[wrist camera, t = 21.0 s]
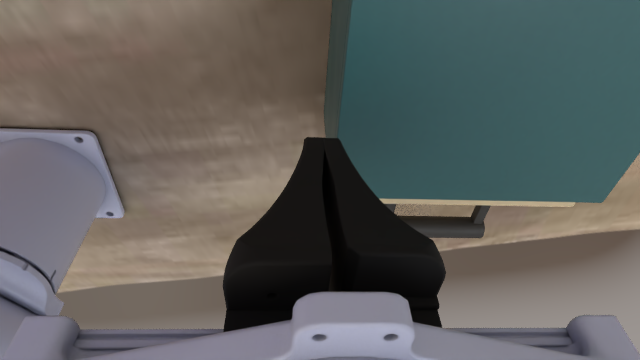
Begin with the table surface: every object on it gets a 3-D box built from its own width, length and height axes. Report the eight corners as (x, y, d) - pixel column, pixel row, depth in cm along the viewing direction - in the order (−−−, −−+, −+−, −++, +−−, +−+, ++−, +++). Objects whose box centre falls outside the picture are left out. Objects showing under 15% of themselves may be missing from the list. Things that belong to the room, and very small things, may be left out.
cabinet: (537, 119, 27) (602, 203, 21) (323, 112, 26) (330, 198, 20) (662, -132, 18) (834, -107, 12) (344, -156, 17) (367, -142, 11)
